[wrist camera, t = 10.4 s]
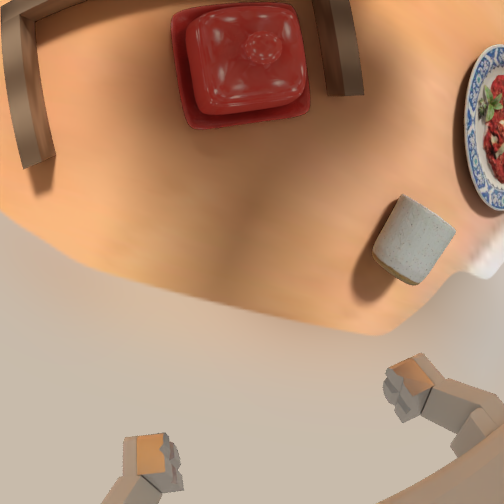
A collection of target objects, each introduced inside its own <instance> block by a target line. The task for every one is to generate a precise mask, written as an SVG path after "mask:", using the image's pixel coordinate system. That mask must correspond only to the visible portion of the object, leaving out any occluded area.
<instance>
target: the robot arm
mask: <svg viewBox="0 0 504 504" xmlns="http://www.w3.org/2000/svg"><path fill="white" fill-rule="evenodd" d="M386 376H387V378H386V379H385V381H384V383H383V391H384V394H385V397H386V399H387V400H388V402H389V403H391V404H393V405H395V413H396V414H397V416H398V417H399V418H400V420H401V422H402V423H404V422H406V421H408V420H410V419H412V418H415V417H417V416H419V415H421V416H422V417H425V418H426V419H428V420H430V421H432V422H434V423H436V424H438V425H440V426H442V427H444V428H446V429H448V430H450V431H452V432H454V433H456V434H457V435H456V437H455V438H454V440H453V441H452V443H451V446H450V447H451V448H452V450H453V451H454V453H455V454H456V456H457V457H458V458H457V459H455V460H454V461H452V462H451V463H449V464H448V465H446V466H445V467H443V468H442V469H440V470H438V471H437V472H435V473H433V474H432V475H430V476H428V477H426V478H425V479H423V480H421V481H420V482H418V483H416V484H414V485H412V486H411V487H408V488H407V489H405V490H403V491H401V492H399V493H397V494H395V495H393V496H391V497H389V498H387V499H385V500H383V501H380V502H379V503H376V504H504V404H503V403H502V401H501V400H500V399H499V398H498V397H497V395H496V394H493V393H490V392H487V391H484V390H481V389H478V388H475V387H472V386H469V385H466V384H464V383H461V382H458V381H455V380H452V379H449V378H448V379H445V378H444V377H443V376H442V375H441V373H440V372H439V371H438V370H437V369H436V368H435V366H434V365H433V364H432V363H431V362H430V361H429V360H428V359H427V357H426V356H425V355H424V354H422V353H419V354H417V355H415V356H413V357H411V358H408V359H406V360H404V361H401V362H399V363H397V364H395V365H393V366H391V367H389V368H388V369H387V370H386ZM180 465H181V464H180V457H179V453H178V450H177V448H176V446H175V445H174V443H172V442H170V441H169V436H168V435H167V434H166V433H158V434H151V435H143V436H133V437H125V439H124V442H123V476H122V477H119V478H118V480H117V481H116V482H115V484H114V486H113V487H112V488H111V490H110V491H109V493H108V494H107V496H106V497H105V499H104V500H103V502H102V503H101V504H158V503H159V501H160V499H161V497H162V493H168V492H176V491H182V490H184V488H183V480H182V475H181V474H180V473H179V471H178V468H179V467H180Z"/></svg>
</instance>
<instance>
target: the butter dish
mask: <svg viewBox="0 0 504 504" xmlns="http://www.w3.org/2000/svg"><path fill="white" fill-rule="evenodd" d="M171 36H172V45H173V52H174V60H175V67H176V73H177V80H178V86H179V92H180V97H181V102H182V107H183V111H184V115H185V118H186V120H187V123H188V125H189V126H190V127H192V128H193V129H198V130H204V129H211V128H221V127H227V126H234V125H241V124H248V123H255V122H262V121H270V120H278V119H285V118H291V117H296V116H300V115H303V114H305V113H306V112H308V110H309V108H310V89H309V79H308V72H307V65H306V58H305V51H304V45H303V38H302V33H301V29H300V23H299V20H298V17H297V14H296V11H295V9H294V8H293V7H292V6H291V5H289V4H286V3H277V2H246V3H229V4H217V5H209V6H200V7H194V8H189V9H186V10H182V11H180V12H178V13H176V14H175V15H174V16H173V17H172V20H171Z"/></svg>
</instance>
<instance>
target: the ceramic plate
mask: <svg viewBox="0 0 504 504" xmlns="http://www.w3.org/2000/svg"><path fill="white" fill-rule="evenodd" d="M464 138H465V149H466V156H467V162H468V167H469V171H470V175H471V179H472V181H473V184H474V186H475V189H476V191H477V193H478V194H479V196H480V198H481V199H482V200H483V201H484V203H485V204H487V205H488V206H489V207H490V208H492V209H494V210H497V211H504V45H502V44H498V45H493V46H490V47H488V48H487V49H486V50H484V51H483V52H482V54H481V55H480V56H479V58H478V59H477V61H476V63H475V65H474V67H473V70H472V72H471V75H470V79H469V83H468V88H467V93H466V100H465V111H464Z"/></svg>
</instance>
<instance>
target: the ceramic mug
mask: <svg viewBox="0 0 504 504" xmlns="http://www.w3.org/2000/svg"><path fill="white" fill-rule="evenodd" d="M455 233H456V230H455V229H454V228H453V227H452V226H451V225H450V224H449V223H447V222H446V221H444V220H443V219H442V218H441V217H439V216H438V215H437V214H435V213H434V212H432V211H430V210H429V209H428V208H426V207H425V206H423V205H421V204H420V203H418V202H417V201H415V200H413V199H411V198H410V197H408V196H406V195H404V194H402V195H401V196H400V197H399V199H398V201H397V203H396V205H395V207H394V209H393V211H392V212H391V214H390V216H389V218H388V220H387V222H386V224H385V226H384V227H383V229H382V231H381V233H380V234H379V236H378V238H377V240H376V241H375V244H374V246H373V250H372V255H373V258H374V260H375V261H376V262H377V263H378V264H379V265H380V266H381V267H382V268H384V269H385V270H386V271H387V272H389V273H390V274H392V275H393V276H395V277H396V278H397V279H399V280H401V281H403V282H404V283H406V284H409V285H418V284H419V283H420V282H422V281H423V280H424V279H425V277H426V276H427V275H428V274H429V272H430V271H431V269H432V268H433V266H434V265H435V263H436V262H437V260H438V259H439V257H440V256H441V254H442V253H443V251H444V250H445V248H446V247H447V246H448V244H449V242H450V241H451V239H452V238H453V236H454V235H455Z"/></svg>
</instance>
